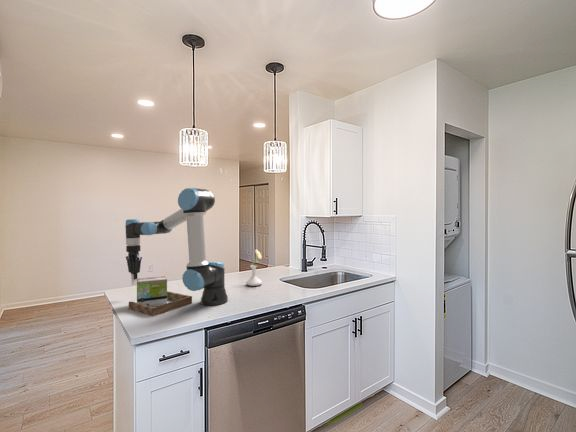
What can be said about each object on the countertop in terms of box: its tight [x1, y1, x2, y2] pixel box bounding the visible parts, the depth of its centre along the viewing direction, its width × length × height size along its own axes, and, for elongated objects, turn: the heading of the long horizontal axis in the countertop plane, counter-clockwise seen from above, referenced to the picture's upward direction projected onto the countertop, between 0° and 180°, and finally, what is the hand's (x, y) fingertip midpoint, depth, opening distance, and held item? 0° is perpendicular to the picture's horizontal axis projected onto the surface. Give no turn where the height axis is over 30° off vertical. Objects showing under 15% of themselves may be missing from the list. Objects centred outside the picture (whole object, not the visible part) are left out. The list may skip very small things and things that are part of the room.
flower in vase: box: [245, 249, 263, 287], centre depth 211 cm, size 13×11×25 cm
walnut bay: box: [128, 290, 193, 317], centre depth 165 cm, size 21×24×4 cm
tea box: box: [136, 275, 168, 307], centre depth 168 cm, size 15×10×15 cm
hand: (134, 284), depth 178 cm, fingers closed
